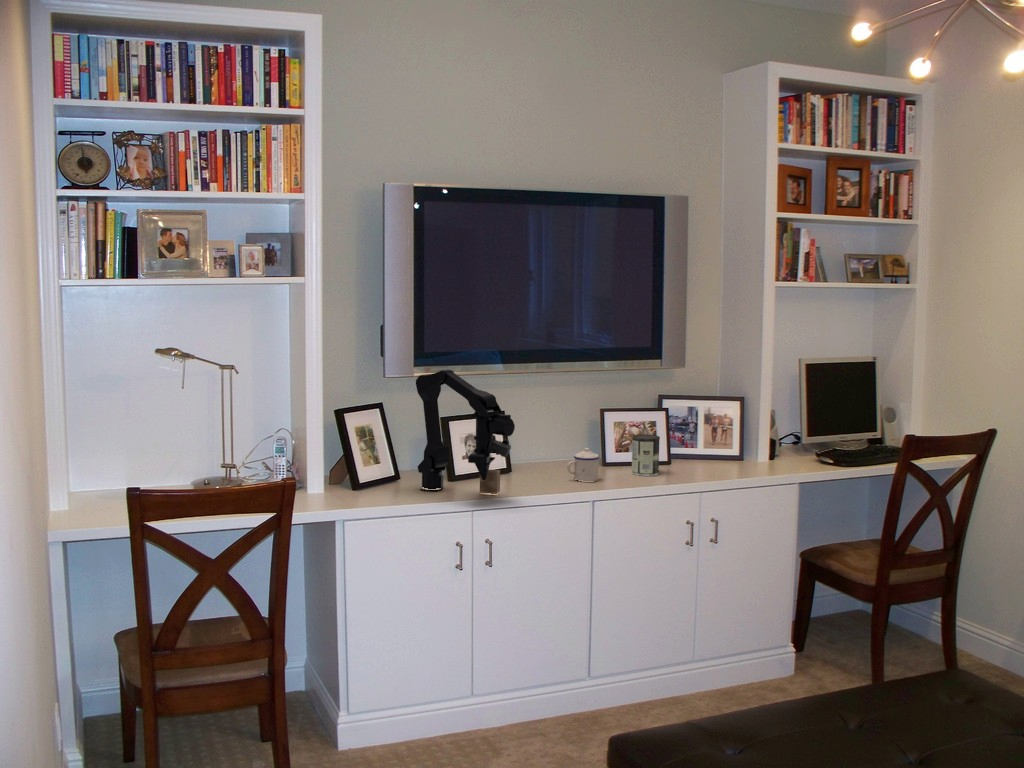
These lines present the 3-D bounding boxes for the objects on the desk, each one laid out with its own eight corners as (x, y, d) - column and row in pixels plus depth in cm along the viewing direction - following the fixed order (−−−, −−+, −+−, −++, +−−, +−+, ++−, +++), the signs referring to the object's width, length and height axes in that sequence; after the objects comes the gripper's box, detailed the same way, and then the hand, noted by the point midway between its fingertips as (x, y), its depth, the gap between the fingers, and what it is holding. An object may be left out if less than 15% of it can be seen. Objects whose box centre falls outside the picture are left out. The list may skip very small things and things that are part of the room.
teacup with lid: (592, 476, 341) (592, 445, 340) (602, 481, 333) (603, 449, 332) (562, 478, 337) (562, 447, 336) (572, 483, 329) (572, 451, 328)
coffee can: (649, 469, 355) (650, 433, 353) (664, 475, 345) (665, 437, 344) (626, 471, 351) (627, 434, 349) (639, 477, 341) (640, 439, 340)
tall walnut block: (479, 495, 311) (479, 471, 310) (482, 492, 315) (482, 469, 314) (497, 496, 309) (497, 472, 308) (499, 493, 313) (500, 470, 312)
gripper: (501, 438, 291) (501, 487, 293) (514, 429, 309) (514, 475, 311) (467, 437, 294) (467, 485, 295) (482, 428, 312) (482, 473, 314)
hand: (484, 479), depth 304 cm, fingers closed
